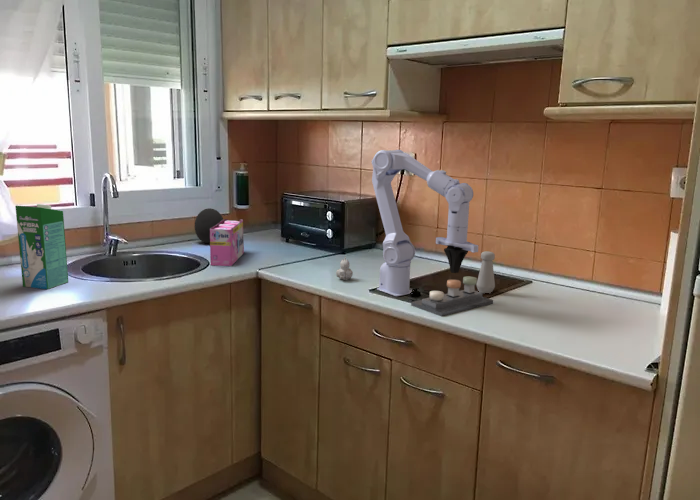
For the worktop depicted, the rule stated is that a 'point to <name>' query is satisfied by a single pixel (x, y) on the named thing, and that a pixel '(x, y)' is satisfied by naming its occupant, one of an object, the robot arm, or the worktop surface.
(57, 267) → the milk carton
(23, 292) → the worktop surface
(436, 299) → the cream knob
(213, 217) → the decorative egg
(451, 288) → the terracotta knob
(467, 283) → the sage knob
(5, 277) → the worktop surface
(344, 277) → the beige lumpy figurine
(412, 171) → the robot arm
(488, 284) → the salt shaker
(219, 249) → the gum box
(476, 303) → the switch panel
